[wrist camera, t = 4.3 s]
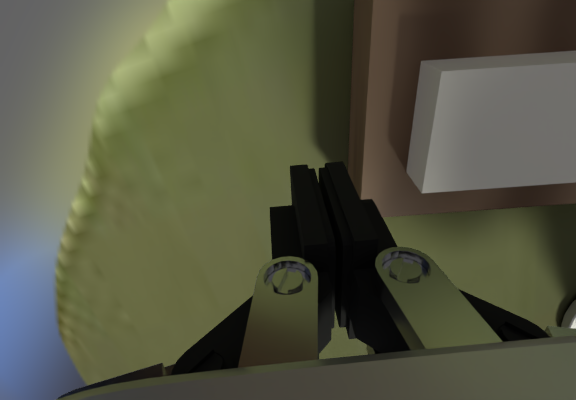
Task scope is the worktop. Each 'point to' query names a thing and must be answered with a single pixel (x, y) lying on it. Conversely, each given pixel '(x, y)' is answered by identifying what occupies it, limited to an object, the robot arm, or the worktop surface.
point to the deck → (404, 81)
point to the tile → (494, 122)
